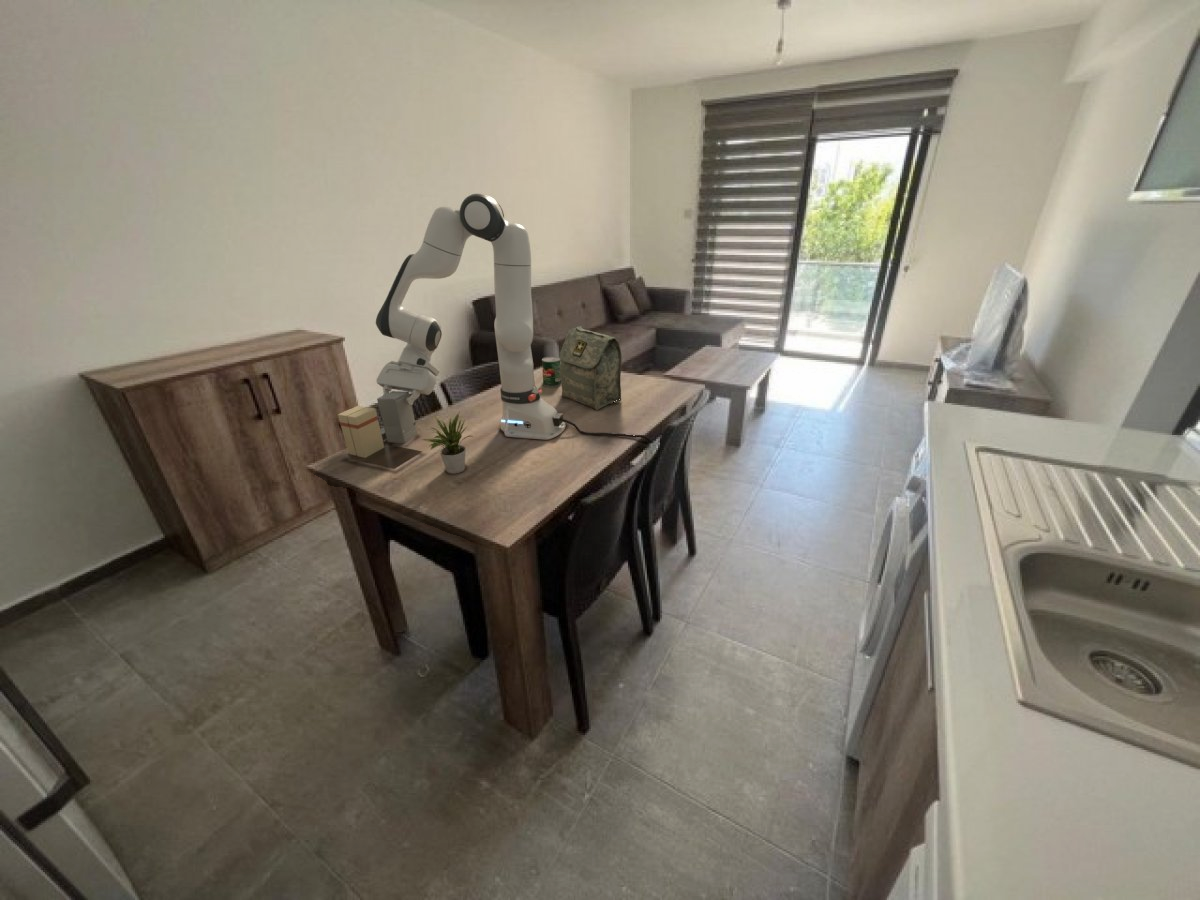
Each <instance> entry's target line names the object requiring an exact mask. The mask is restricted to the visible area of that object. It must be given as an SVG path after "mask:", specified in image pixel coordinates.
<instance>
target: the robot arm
mask: <svg viewBox="0 0 1200 900" xmlns="http://www.w3.org/2000/svg"><path fill="white" fill-rule="evenodd" d="M472 236H474V237H477V238H480V239H482V240H485V241H487V242H490V243H491V245H492V251H493V282H494V287H493V288H494V297H495V298H494V301H495V302H494V303H495V319H494V323H493V325H494V335H495V343H496V351H497V359H498V367H499V376H500V386H501V387H500V400H501V402H502V415H501V416H502V417H501V419H500V422H501V423H500V430H501V431H502V432H503V433H504V436H505V437H508V438H517V439H518V438H519V439H532V440H544V441H545V440H546V441H548V440H551V439H554V438H556V437H558V436H559V435H560V434H562V433H563V432H564V430H565V429H566V426H567V425H566V424H569V425H570V426H572V427H573V428H574V429H575V430H576V431H577V432H578V433H579V434H582V435H587V436H608V437H626V438H641V439H645V440H648V442H649V443H654V441H653V439H652V438H651V437H649V436H647V435H645V434H631V435H626V434H627V433H617V434H612V433H613V432H588V431H583V430H581V429H580V428H579V427H578V426H577V424H576V423H574V422H572V421H570V420H568V419H565V418H564V413H563V412H558V411H557V410H556V408H554V406H552V405H550V404H549V403H548V402H546V400H544V399H543V398H542V397H541V395H540V394H542V393H543V389H542V388H541V389H539V390H538V388H537V386H536V385H535V384H536V383H535V372H534V371H535V369H534V361H533V354H532V353H533V352H532V346H531V345H532V343H533V340H534V315H533V301H532V300H533V299H532V253H531V243H530V237H529V232H528V230H527V229H526V228H525V227H524V226H523V225H521V224H518V223H515V222H510V221H507V220H506V219H505V214H504V211H503V208H502V206H501V205H500V203H499V202H498V201H496V200H495V198H493V197H492V196H490V195H488V194H484V193H472V194H470V195H468V196H466V197H465V198H464V199H463V201H462V202H461V204H460V207H459V209H456V208H453V207H450V206H439V207H437V208H436V209H434V211H433V213H432V215H431V217H430V219H429V222H428V223H427V226H426V229H425V232H424V237H423V240H422V243H421V245H420V247H419V249H418V250H417V251H416V252H415V253H412V254H411V253H410V254H408V255H407V256H406V258H405V259H404V260H403V262H402V263H401V266H400V268H399V270H398V272H397V274H396V276H395V278H394V279H393V282H392V285H391V287H390V289H389V291H388V294H387V296H386V297H385V300H384V302H383V304H382V306H381V307H380V309H379V311H377V312H378V313H377V314H376V318H375V325H376V328H377V330H378V331H379V333H381V335H382V336H384V337H388V338H391V339H396V340H399V341H401V342H404V343H407V344H406V345H405V346H404V348H403V349H402V352H401V354H400V356H399V359H398V360H397V361H395V360H391V361H389V362H387V363H386V364H385V365H384V366H383V367H382V368H381V370H380V372H379V374H378V375H377V378H376V384H377V385H379V386H380V387H382V392H383V395H384V394H388V393H390V392H392V391H393V390H395V391H402V392H409V393H412V394H411V395H409V396H410V397H409V398H407V399H406V404H408V405H412V406H413V405H414V403H415V401H416V400H417V399H418V398H419V397H420V395H427V396H429V395H430V394H431V393H433V391H434V389H435V387H436V384H437V379H438V378H437V376H439V374H440V370H439V368H437V367H436V366H435V365H434V364H433V363H431V359H432V355H433V353H434V352H435V351H436V350H437V348H438V346H439V344H440V341H441V339H442V334H443V333H442V326H441V324H440V322H439V321H438V320H436V319H435V318H433V317H431V316H428V315H423V314H420V313H417V312H414V311H412V310H410V309H407V308H406V307H403V301H404V300H405V297H406V295H407V293H408V291H409V289H410V286H411V284H412V283H413V282H414V281H416V280H418V279H419V280H420V279H427V280H428V279H429V280H430V279H431V280H432V279H434V280H437V279H438V280H439V279H445V278H447V277H450V276H452V275H454V274H455V272H457V270H458V267H459V265H460V263H461V259H462V255H463V253H464V248H465V245H466V243H467V240H468V239H469V238H470V237H472ZM383 395H382V396H383ZM633 435H635V436H633ZM652 523H654V524H655V523H656V517H654V518H653V520H652Z"/></svg>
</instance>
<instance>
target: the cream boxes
mask: <svg viewBox="0 0 1200 900" xmlns="http://www.w3.org/2000/svg"><path fill="white" fill-rule="evenodd" d="M337 416H338V420H339V424H340V425H339V426H340V427H341V432H342V435H343V440H344V442H345V446H346V450H347V454H351V455H355V456H360V457H364V458H366V457H368V456H370V455H371V454H373V453H375V452H377V451H379V450H381V449H382V448H384V444H385V443H384V440H383V439H382V435H381V430H380V429H381V426H380V423H379V416H378V414H377V409H376V408H374V407H369V406H363V405H356V406H354V407H352V408H350V409H347V410H345V411H343V412H340V413H338V414H337Z"/></svg>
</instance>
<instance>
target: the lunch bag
mask: <svg viewBox="0 0 1200 900" xmlns="http://www.w3.org/2000/svg"><path fill="white" fill-rule="evenodd" d="M558 357H559V358H560V362H561V367H560V373H561V385H560V386H561V396H562V397H564V398H568V399H570V400H573V401H575V402H577V403H580V404H582V405H585V406H588V407H591V408H593V409H595V410H597V411H598V410H600V409H602V408H604V407H605V406H608V405H610V404H616V403H618V404H619V403H620V402H621V401H622V388H621V387H622V386H621V376H622V374H621V373H622V363H623V362H622V360H623V359H622V350H621V345H620V342H619V341H618V339H617V338H616V337H615V336H611V335H608V334H604V333H600V332H595V331H592V330H588V329H584V328H583V327H582V326H581V325H579V326H575V328H571V329H570V330H569V331H568V332H567V334H566V336H565V338H564V342H563V345H562V347H561V349H560V352H559V356H558ZM619 399H620V400H619ZM616 400H617V401H616ZM614 401H615V402H614ZM613 402H614V403H613Z"/></svg>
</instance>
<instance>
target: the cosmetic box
mask: <svg viewBox="0 0 1200 900" xmlns="http://www.w3.org/2000/svg"><path fill="white" fill-rule="evenodd" d="M383 394H384V393H383ZM410 396H411V395H410V392H408V391H402V390H391V391H389V393H388V394H384V395H382V396H379V397H377V398H376V401H377V405H378V409H379V413H380V417H381V420H382V425H383V427H384V429H385V433H386V437H387V439H386V441H387V442H388V443H395V444H406V443H408V442H409V441H410V440H412V439H413V438H414V437H415V436H416V435H418V428H417V424H416V419H415V414H414V410H413V405H408V404H406V399H407V398H409V397H410Z"/></svg>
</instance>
